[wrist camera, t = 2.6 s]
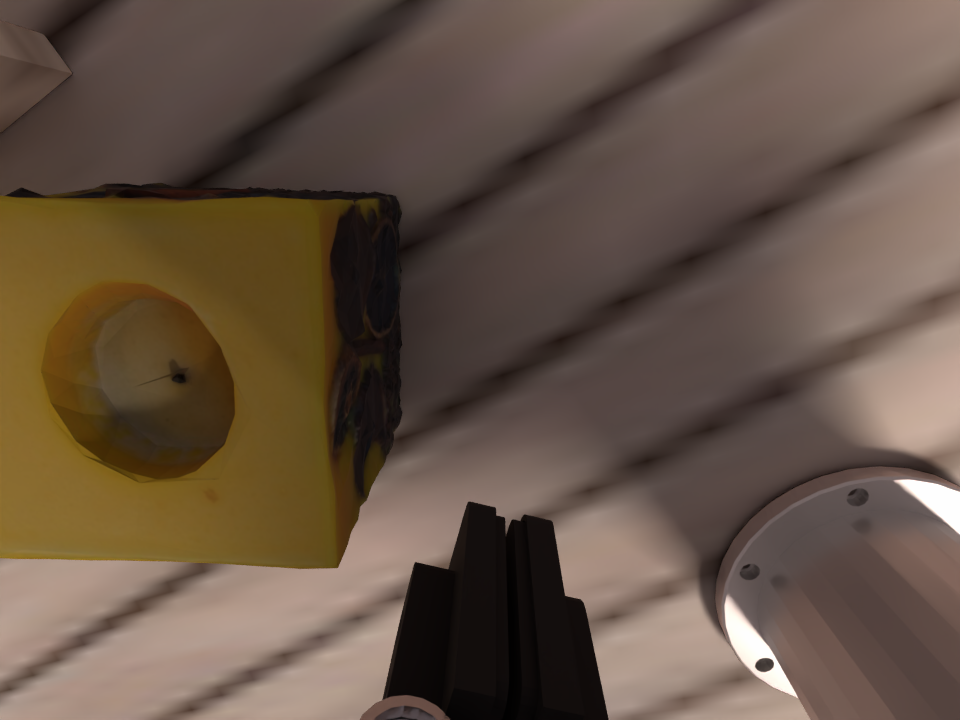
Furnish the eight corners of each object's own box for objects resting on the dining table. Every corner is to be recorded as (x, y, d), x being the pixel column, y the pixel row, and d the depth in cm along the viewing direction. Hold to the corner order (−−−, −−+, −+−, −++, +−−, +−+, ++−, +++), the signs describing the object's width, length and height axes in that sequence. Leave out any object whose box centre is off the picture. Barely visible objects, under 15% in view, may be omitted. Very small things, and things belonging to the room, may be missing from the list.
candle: (183, 417, 24) (-25, 566, 15) (146, 182, 21) (-150, 179, 12) (406, 427, 24) (340, 588, 14) (403, 190, 21) (315, 195, 11)
